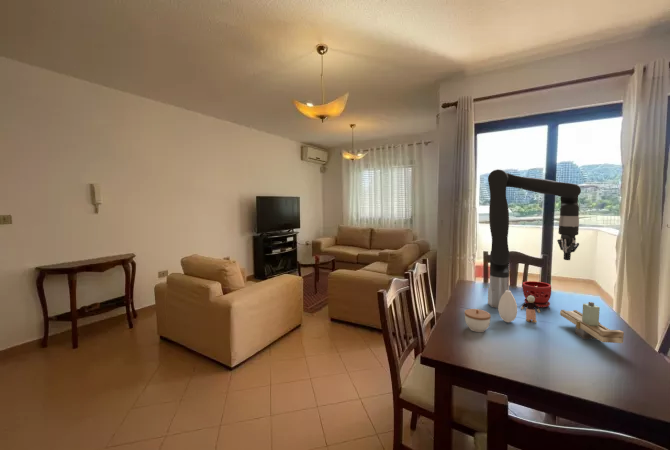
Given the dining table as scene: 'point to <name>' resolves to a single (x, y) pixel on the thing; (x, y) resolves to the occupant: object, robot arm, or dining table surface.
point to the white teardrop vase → (507, 306)
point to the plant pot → (537, 292)
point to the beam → (592, 329)
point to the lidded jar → (477, 319)
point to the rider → (591, 314)
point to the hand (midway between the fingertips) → (566, 259)
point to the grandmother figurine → (530, 309)
